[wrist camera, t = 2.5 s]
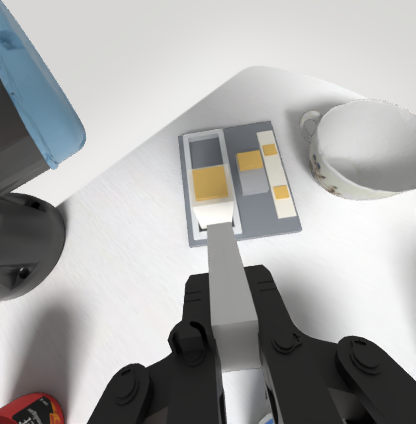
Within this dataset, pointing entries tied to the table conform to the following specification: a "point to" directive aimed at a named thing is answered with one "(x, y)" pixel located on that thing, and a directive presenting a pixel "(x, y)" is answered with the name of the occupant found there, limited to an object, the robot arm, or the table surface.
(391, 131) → the teacup
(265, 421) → the supplement tub
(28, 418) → the canned food
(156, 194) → the table surface
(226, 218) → the slide switch
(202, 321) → the robot arm
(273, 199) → the console
